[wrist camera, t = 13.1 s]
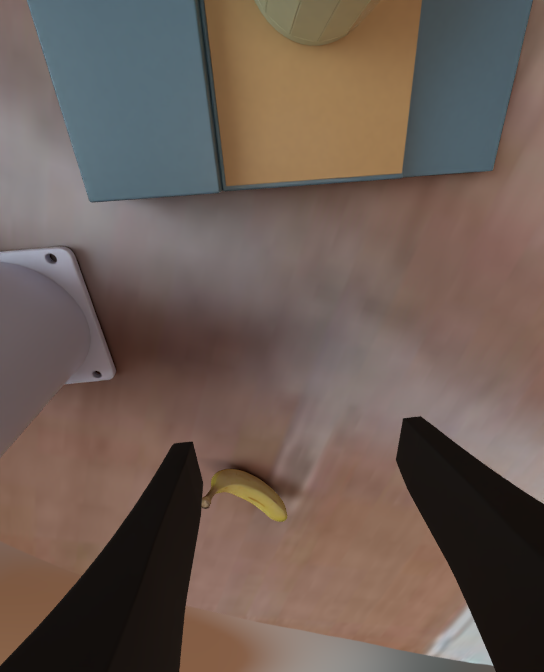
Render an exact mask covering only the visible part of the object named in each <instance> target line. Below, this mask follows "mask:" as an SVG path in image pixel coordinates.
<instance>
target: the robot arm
mask: <svg viewBox="0 0 544 672" xmlns="http://www.w3.org/2000/svg"><path fill="white" fill-rule="evenodd" d="M50 254H53V255H55V257H56V258H57V262H54V261H53V260H51V258H50ZM95 371H99V372H100V373H101V374H97V373H96V372H95ZM115 374H116V369H115V366H114V363H113V360H112V358H111V355H110V352H109V349H108V347H107V344H106V341H105V338H104V335H103V333H102V330H101V327H100V324H99V321H98V319H97V316H96V313H95V310H94V307H93V305H92V302H91V299H90V296H89V293H88V291H87V288H86V285H85V282H84V280H83V277H82V274H81V271H80V268H79V266H78V263H77V260H76V257H75V255H74V253H73V252H72V251H71V250H70V249H69V248H67V247H62V246H60V247H48V248H35V249H23V250H10V251H0V458H1V457H2V455H3V454H4V453H5V452H6V451H7V450H8V448H9V447H10V446H11V445H12V444H13V443H14V442H15V440H16V439H17V438H18V437H19V436H20V435H21V433H22V432H23V431H24V430H25V429H26V428H27V427H28V425H29V424H30V423H31V422H32V421H33V420H34V419H35V417H36V416H37V415H38V414H39V413H40V412H41V410H42V409H43V408H44V407H45V406H46V405H47V404H48V402H49V401H50V400H51V399H52V398H53V397H54V395H55V394H56V393H57V392H58V391H59V390H60V389H61V387H62V386H63V385H64V384H72V383H82V382H93V381H103V380H110V379H112V378H113V377H114V376H115ZM396 462H397V464H398V467H399V469H400V472H401V474H402V477H403V479H404V482H405V484H406V486H407V489H408V491H409V493H410V495H411V496H412V498H413V500H414V502H415V504H416V506H417V508H418V509H419V511H420V513H421V515H422V517H423V519H424V520H425V522H426V524H427V526H428V528H429V529H430V531H431V533H432V535H433V537H434V538H435V540H436V542H437V544H438V546H439V548H440V549H441V551H442V553H443V555H444V557H445V558H446V560H447V562H448V564H449V566H450V568H451V570H452V572H453V574H454V576H455V578H456V580H457V583H458V585H459V587H460V589H461V591H462V594H463V596H464V598H465V600H466V603H467V605H468V607H469V609H470V611H471V614H472V616H473V618H474V621H475V623H476V625H477V628H478V630H479V632H480V635H481V637H482V639H483V642H484V644H485V646H486V649H487V651H488V653H489V656H490V658H491V661H492V663H493V666H494V668H495V671H496V672H544V504H543V503H541V502H540V501H538V500H536V499H535V498H533V497H532V496H530V495H529V494H527V493H525V492H524V491H522V490H521V489H519V488H518V487H516V486H515V485H513V484H512V483H511V482H509V481H508V480H506V479H505V478H503V477H502V476H500V475H499V474H497V473H496V472H494V471H493V470H492V469H490V468H489V467H487V466H486V465H485V464H483V463H482V462H480V461H479V460H478V459H476V458H475V457H474V456H472V455H471V454H469V453H468V452H467V451H465V450H464V449H463V448H461V447H460V446H459V445H458V444H456V443H455V442H454V441H452V440H451V439H450V438H448V437H447V436H446V435H444V434H443V433H442V432H440V431H439V430H438V429H437V428H435V427H434V426H433V425H431V424H430V423H429V422H427V421H426V420H425V419H423V418H422V417H421V416H420V417H411V418H403V422H402V428H401V434H400V439H399V445H398V451H397V457H396ZM202 491H203V481H202V477H201V473H200V469H199V465H198V461H197V457H196V453H195V449H194V445H193V442H184V443H175V444H173V445H172V447H171V448H170V450H169V452H168V454H167V455H166V457H165V459H164V460H163V462H162V464H161V465H160V467H159V469H158V470H157V472H156V474H155V475H154V477H153V479H152V480H151V482H150V483H149V485H148V486H147V488H146V489H145V491H144V492H143V494H142V496H141V497H140V499H139V500H138V502H137V503H136V505H135V506H134V508H133V509H132V511H131V512H130V513H129V515H128V516H127V518H126V519H125V520H124V522H123V523H122V525H121V526H120V527H119V529H118V530H117V532H116V533H115V534H114V536H113V537H112V538H111V540H110V541H109V542H108V544H107V545H106V546H105V548H104V549H103V550H102V552H101V553H100V554H99V555H98V557H97V558H96V559H95V561H94V562H93V563H92V564H91V565H90V567H89V568H88V569H87V570H86V572H85V573H84V574H83V575H82V577H81V578H80V579H79V580H78V581H77V583H76V584H75V585H74V586H73V587H72V588H71V590H70V591H69V592H68V593H67V594H66V595H65V596H64V598H63V599H62V600H61V601H60V602H59V603H58V605H57V606H56V607H55V608H54V609H53V610H52V611H51V612H50V614H49V615H48V616H47V617H46V618H45V619H44V620H43V621H42V623H41V624H40V625H39V626H38V627H37V628H36V629H35V630H34V631H33V632H32V633H31V634H30V635H29V636H28V637H27V638H26V639H25V640H24V642H23V643H22V644H21V645H20V646H19V647H18V648H17V649H16V650H15V651H14V652H13V653H12V654H11V655H10V656H9V657H8V658H7V659H6V660H5V662H3V663H2V665H1V666H0V672H179V668H180V656H181V645H182V635H183V624H184V613H185V606H186V599H187V592H188V587H189V581H190V575H191V569H192V564H193V558H194V552H195V547H196V541H197V535H198V529H199V523H200V517H201V506H202Z"/></svg>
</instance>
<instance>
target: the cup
mask: <svg viewBox="0 0 544 672" xmlns="http://www.w3.org/2000/svg"><path fill="white" fill-rule="evenodd" d="M254 1H255V3H256V5H257V6H258V8H259V10H260V11H261V13H262V14H263V16H264V17H265V18H266V20H267V21H268V22H269V23H270V24H271V25H272V26H273V27H274V28H275V30H277V31H278V32H279V33H280V34H282V35H283V36H284V37H286V38H288V39H290V40H292V41H294V42H297V43H300V44H303V45H309V46H320V45H326V44H330V43H333V42H335V41H338V40H340V39H341V38H343V37H345V36H346V35H348V34H349V33H350V32H352V31H353V30H354V29H355V28H356V27H357V26H358V25H359V24H360V23H361V22H362V21H363V20H364V19H365V18H366V17H367V16H368V15H369V14H370V13H371V12H372V10H373V9H374V8H375V7H376V5H377V4H378V3H379V1H380V0H254Z"/></svg>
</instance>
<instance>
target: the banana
mask: <svg viewBox="0 0 544 672" xmlns="http://www.w3.org/2000/svg"><path fill="white" fill-rule="evenodd" d="M221 492H228V493H231V494H234V495H236V496H238V497H241V498H243V499H245V500H247V501H249V502H250V503H252V504H254V505H255V506H257V507H258V508H259V509H260V510H262V511H263V512H264V513H265V514H266V515H267V516H269V517H270V518H271V519H273V520H275V521H279V522H280V521H281V522H283V521H285V520H286V519H287V513H286V508H285V505H284V503H283V501H282V499H281V498H280V497H279V496H278V494H277V493H276V492H275V491H274V490H273V489H272V488H271V487H269V486H268V485H267V484H265V483H264V482H263V481H262V480H260V479H259V478H257V477H255V476H253V475H251V474H249V473H247V472H244V471H241V470H236V469H224V470H221V471H219V472H217V473H216V474H215V475H214V476H213V477H212V480H211V489H210V491H209V492H208V494H207V495H206V496H205V497H203V498H202V506H201V507H202V508H204V509H206V508H209V505H210V504H211V499H212V497H213V496H214V495H215V494H216V493H221Z"/></svg>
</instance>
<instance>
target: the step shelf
mask: <svg viewBox="0 0 544 672" xmlns="http://www.w3.org/2000/svg"><path fill="white" fill-rule="evenodd" d="M27 2H28V5H29V8H30V12H31V15H32V18H33V21H34V24H35V28H36V31H37V34H38V37H39V41H40V44H41V47H42V50H43V53H44V57H45V60H46V63H47V66H48V69H49V73H50V76H51V79H52V82H53V86H54V89H55V92H56V95H57V98H58V102H59V105H60V108H61V111H62V114H63V118H64V121H65V124H66V127H67V131H68V134H69V137H70V140H71V143H72V147H73V150H74V153H75V156H76V159H77V163H78V166H79V169H80V172H81V176H82V179H83V182H84V185H85V188H86V192H87V195H88V198H89V201H90V202H105V201H119V200H132V199H146V198H159V197H173V196H186V195H200V194H213V193H219V192H221V191H237V190H250V189H264V188H277V187H291V186H304V185H318V184H331V183H345V182H358V181H372V180H385V179H399V178H402V177H415V176H428V175H442V174H455V173H469V172H482V171H492V170H493V167H494V163H495V159H496V154H497V150H498V146H499V142H500V137H501V133H502V129H503V125H504V121H505V116H506V112H507V108H508V104H509V99H510V95H511V91H512V87H513V82H514V78H515V74H516V70H517V66H518V61H519V57H520V53H521V49H522V44H523V40H524V36H525V32H526V27H527V23H528V19H529V15H530V10H531V6H532V2H533V0H380V1H379V3H378V4H377V5H376V7H375V8H374V9H373V10H372V12H371V13H370V14H369V15H368V16H367V17H366V18H365V19H364V20H363V21H362V22H361V23H360V24H359V25H358V26H357V27H356V28H355V29H354V30H353V31H352V32H350V33H349V34H348V35H346V36H345V37H343V38H341V39H340V40H338V41H335V42H333V43H330V44H326V45H320V46H309V45H303V44H300V43H297V42H294V41H292V40H290V39H288V38H286V37H284V36H283V35H282V34H280V33H279V32H278V31H277V30H275V28H274V27H273V26H272V25H271V24H270V23H269V22H268V21H267V20H266V18H265V17H264V16H263V14H262V13H261V11H260V10H259V8H258V6H257V5H256V3H255V1H254V0H27Z"/></svg>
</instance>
